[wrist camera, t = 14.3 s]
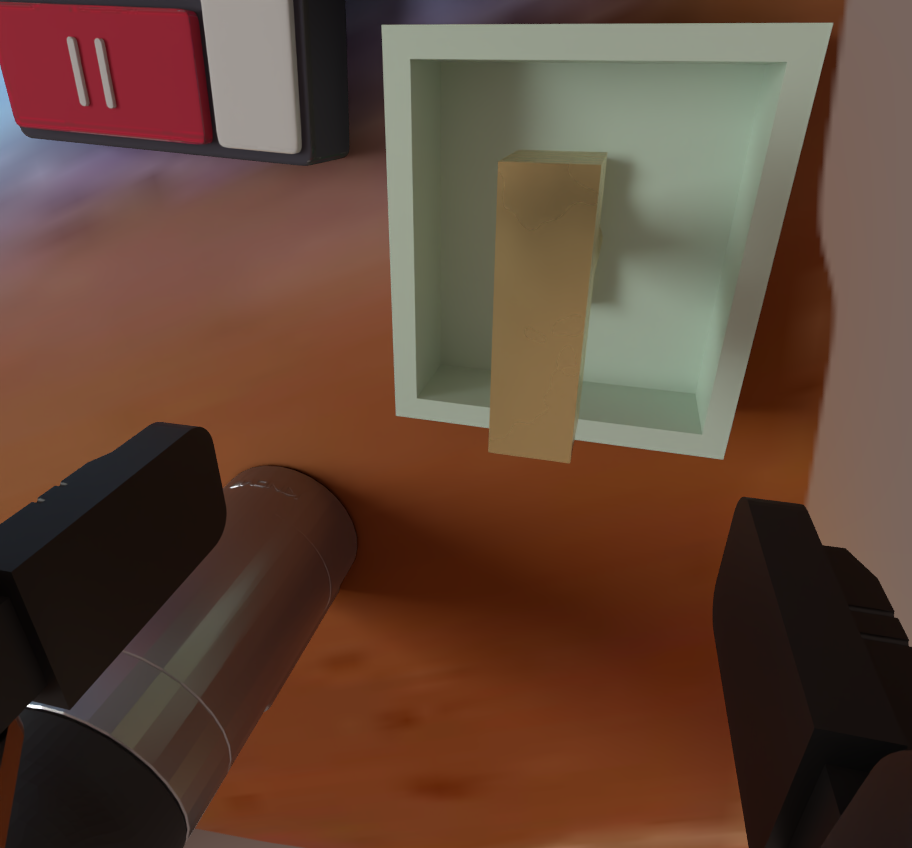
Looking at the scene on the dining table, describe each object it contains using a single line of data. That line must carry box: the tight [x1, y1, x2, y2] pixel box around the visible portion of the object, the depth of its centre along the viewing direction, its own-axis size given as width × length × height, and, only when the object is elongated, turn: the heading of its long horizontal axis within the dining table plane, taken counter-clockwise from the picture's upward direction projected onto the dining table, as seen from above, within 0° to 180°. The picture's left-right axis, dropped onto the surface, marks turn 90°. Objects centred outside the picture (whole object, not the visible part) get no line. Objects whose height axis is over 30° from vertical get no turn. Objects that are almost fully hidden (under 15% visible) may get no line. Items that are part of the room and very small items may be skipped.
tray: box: [381, 23, 833, 459], centre depth 26 cm, size 15×14×4 cm
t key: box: [488, 150, 608, 463], centre depth 22 cm, size 8×2×12 cm, turn 0°
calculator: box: [0, 0, 349, 166], centre depth 26 cm, size 11×4×15 cm
